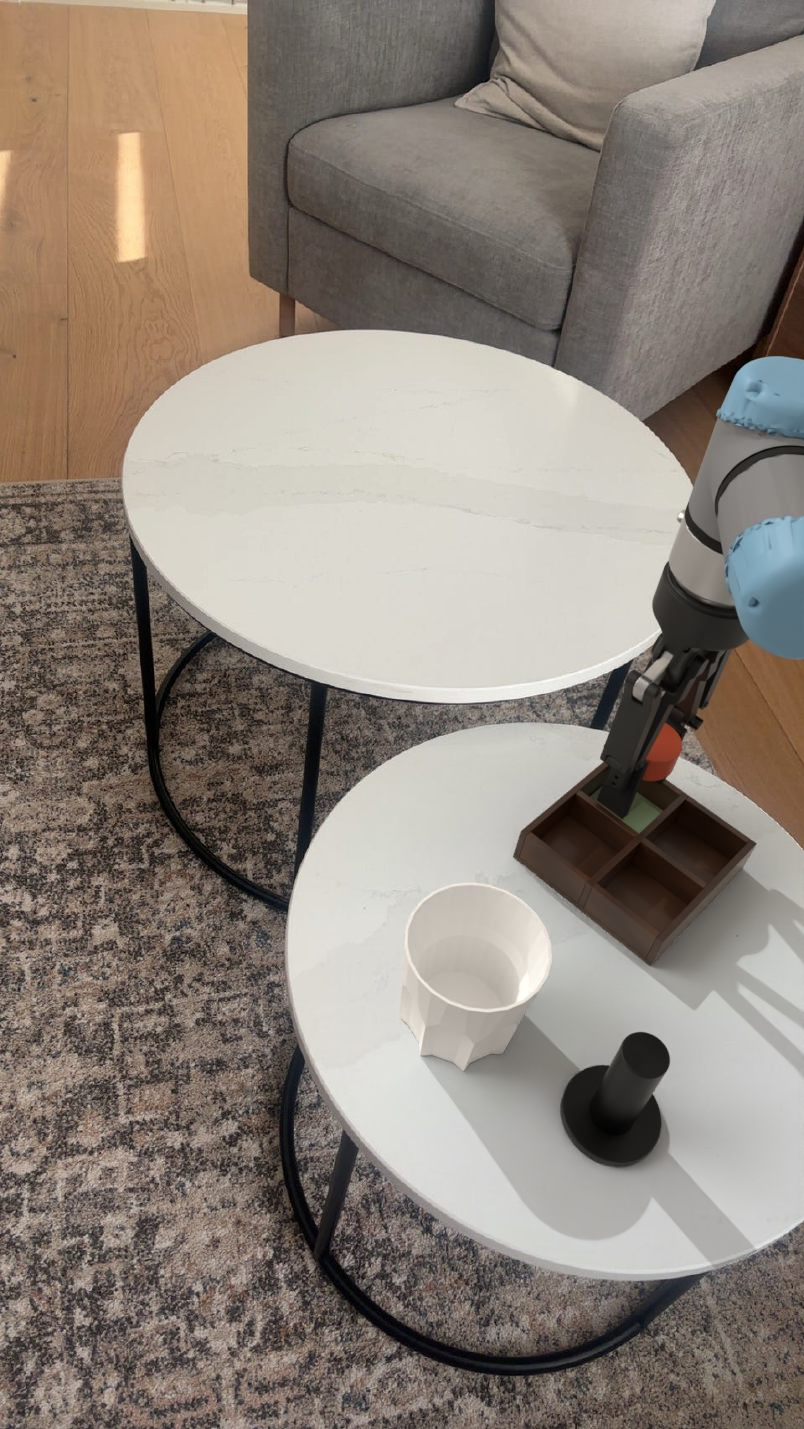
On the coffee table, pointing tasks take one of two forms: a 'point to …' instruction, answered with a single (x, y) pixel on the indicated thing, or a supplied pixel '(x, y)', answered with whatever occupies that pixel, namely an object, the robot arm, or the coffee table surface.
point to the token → (663, 754)
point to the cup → (471, 970)
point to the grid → (634, 860)
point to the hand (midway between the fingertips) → (631, 790)
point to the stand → (617, 1103)
